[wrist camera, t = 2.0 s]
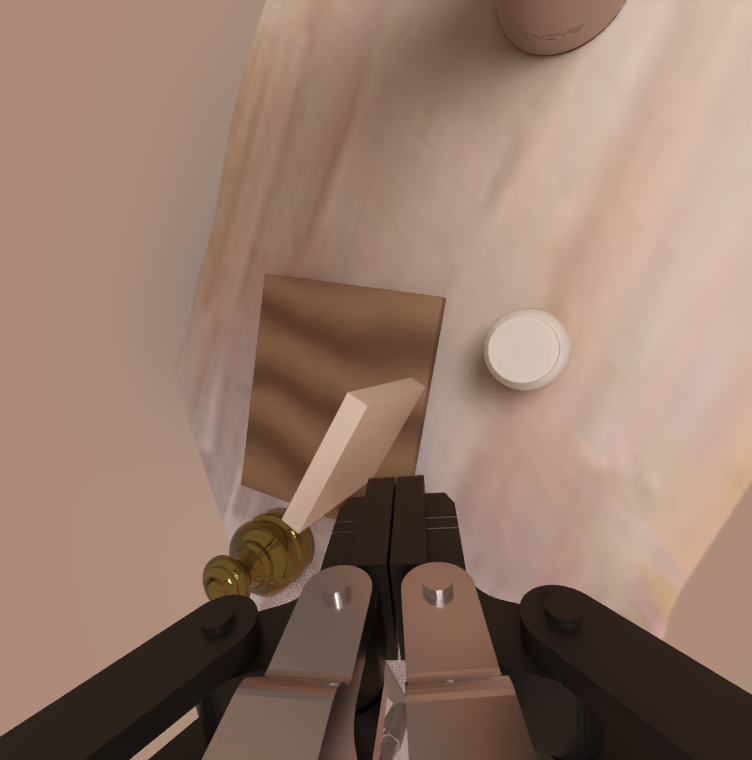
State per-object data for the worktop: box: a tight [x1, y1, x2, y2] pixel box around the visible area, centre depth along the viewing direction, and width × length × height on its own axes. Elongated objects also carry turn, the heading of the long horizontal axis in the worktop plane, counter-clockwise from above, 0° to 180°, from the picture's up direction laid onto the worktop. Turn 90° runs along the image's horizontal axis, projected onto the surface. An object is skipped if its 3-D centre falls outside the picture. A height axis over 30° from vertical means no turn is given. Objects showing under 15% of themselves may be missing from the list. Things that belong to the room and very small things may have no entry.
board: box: [241, 274, 446, 520], centre depth 40 cm, size 22×18×1 cm
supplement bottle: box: [484, 308, 571, 391], centre depth 29 cm, size 5×5×10 cm
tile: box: [282, 378, 425, 534], centre depth 32 cm, size 10×2×12 cm, turn 151°
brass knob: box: [203, 508, 314, 601], centre depth 40 cm, size 7×7×10 cm
